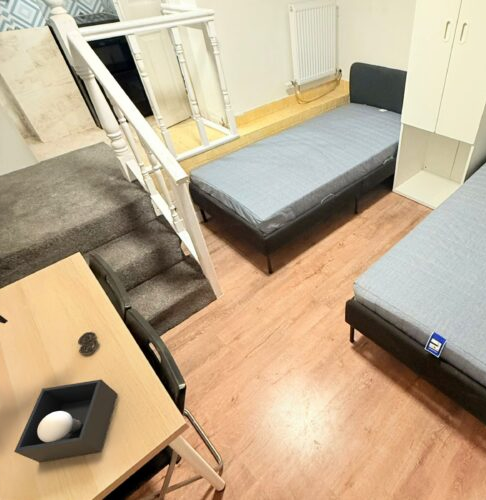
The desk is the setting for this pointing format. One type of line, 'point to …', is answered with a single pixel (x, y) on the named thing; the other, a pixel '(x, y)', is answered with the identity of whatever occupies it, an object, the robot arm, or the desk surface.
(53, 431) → the lightbulb
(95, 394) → the bin
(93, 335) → the corroded twin loop
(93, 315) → the desk surface
